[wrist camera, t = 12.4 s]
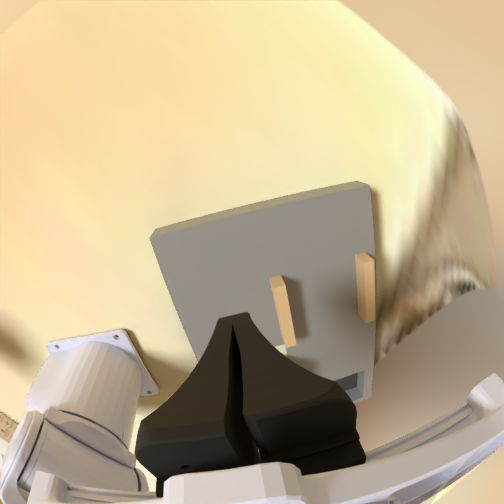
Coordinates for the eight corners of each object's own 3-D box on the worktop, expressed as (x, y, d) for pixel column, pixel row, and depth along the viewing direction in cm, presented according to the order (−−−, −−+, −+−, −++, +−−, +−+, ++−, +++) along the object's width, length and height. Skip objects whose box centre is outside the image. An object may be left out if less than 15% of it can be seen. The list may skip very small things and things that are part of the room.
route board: (233, 422, 28) (236, 447, 25) (155, 229, 20) (144, 245, 17) (364, 385, 29) (376, 407, 26) (356, 180, 20) (380, 188, 17)
